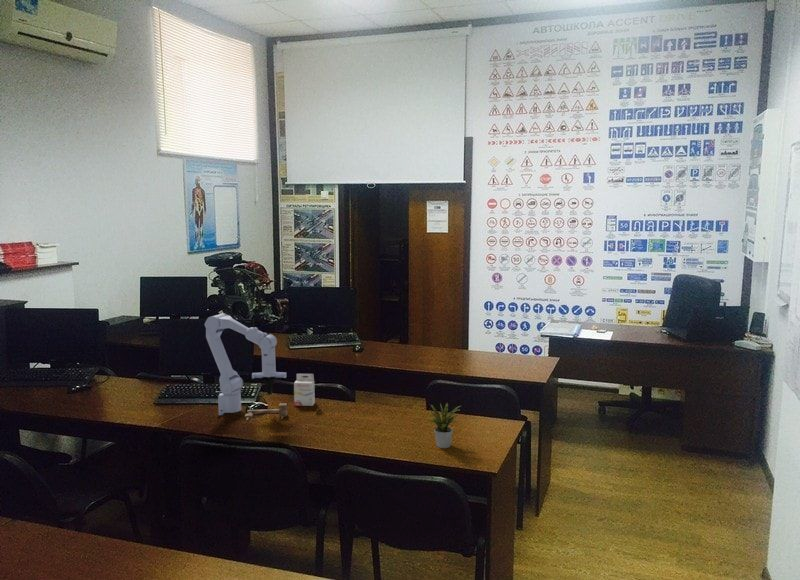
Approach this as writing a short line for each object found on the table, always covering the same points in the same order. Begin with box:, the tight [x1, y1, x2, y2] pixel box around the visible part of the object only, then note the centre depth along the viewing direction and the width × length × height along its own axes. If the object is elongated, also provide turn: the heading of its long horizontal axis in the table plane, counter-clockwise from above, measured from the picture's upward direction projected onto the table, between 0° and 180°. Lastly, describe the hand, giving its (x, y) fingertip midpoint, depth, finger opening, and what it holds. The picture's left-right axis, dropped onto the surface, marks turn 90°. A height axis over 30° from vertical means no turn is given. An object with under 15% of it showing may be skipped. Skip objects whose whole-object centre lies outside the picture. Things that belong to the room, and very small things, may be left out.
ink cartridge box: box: [293, 373, 316, 407], centre depth 282 cm, size 9×5×15 cm, turn 84°
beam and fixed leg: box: [244, 408, 279, 421], centre depth 267 cm, size 17×10×2 cm, turn 92°
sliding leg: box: [278, 402, 288, 420], centre depth 267 cm, size 3×10×5 cm, turn 2°
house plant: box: [426, 402, 461, 449], centre depth 229 cm, size 14×14×16 cm
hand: (269, 393), depth 269 cm, fingers closed
